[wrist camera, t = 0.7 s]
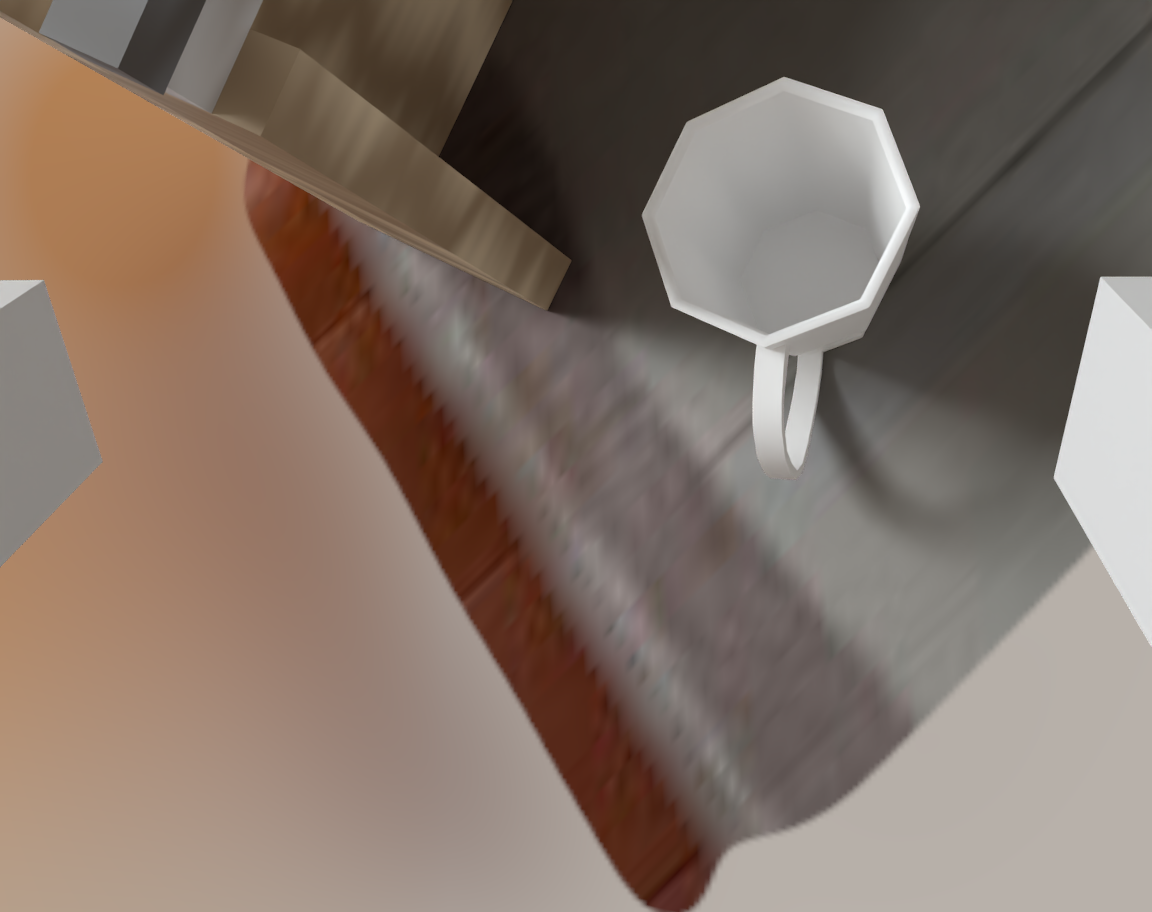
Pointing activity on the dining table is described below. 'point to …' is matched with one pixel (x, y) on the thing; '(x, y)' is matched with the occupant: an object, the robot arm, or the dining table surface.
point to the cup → (783, 238)
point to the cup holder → (324, 105)
